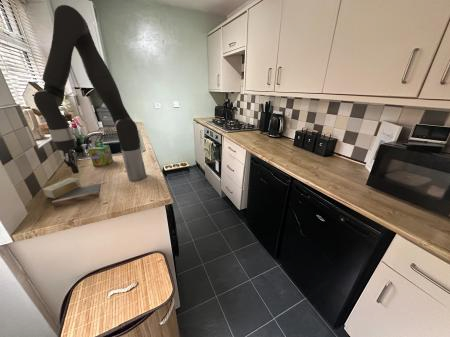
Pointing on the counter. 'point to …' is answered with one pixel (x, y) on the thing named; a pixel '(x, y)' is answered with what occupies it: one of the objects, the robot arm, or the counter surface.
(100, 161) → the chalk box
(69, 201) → the rail
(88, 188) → the mat
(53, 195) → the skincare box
